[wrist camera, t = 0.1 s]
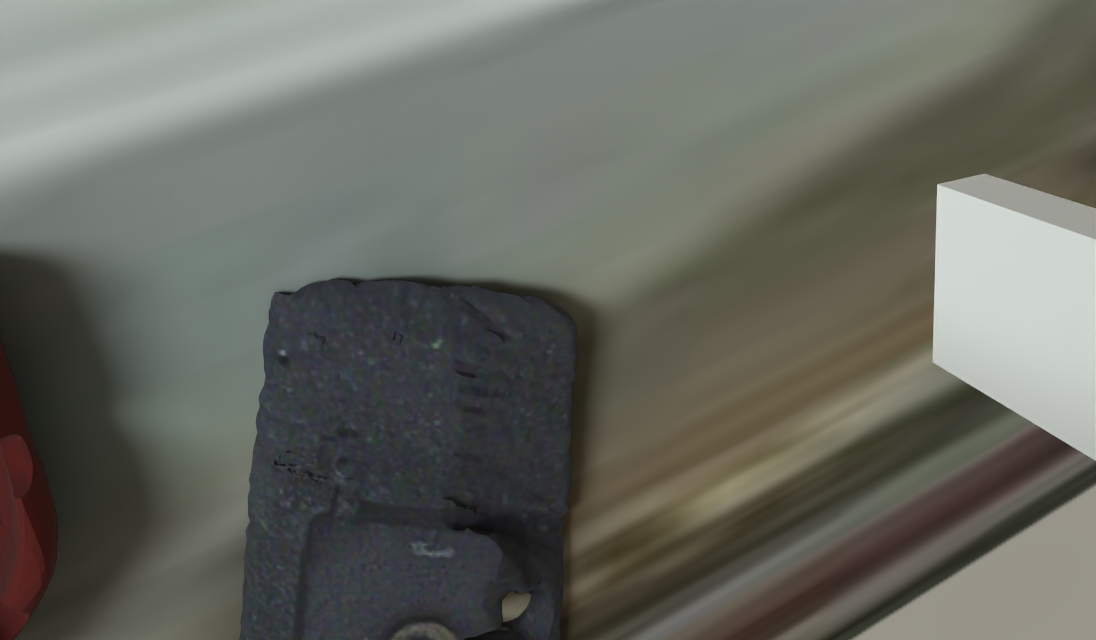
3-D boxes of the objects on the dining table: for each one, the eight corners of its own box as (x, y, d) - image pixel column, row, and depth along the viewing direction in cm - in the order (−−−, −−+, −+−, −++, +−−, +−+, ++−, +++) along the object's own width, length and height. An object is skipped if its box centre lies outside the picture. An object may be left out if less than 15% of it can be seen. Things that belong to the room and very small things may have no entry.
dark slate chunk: (613, 281, 45) (653, 317, 40) (541, 688, 52) (570, 755, 47) (257, 260, 40) (260, 298, 36) (230, 713, 47) (230, 790, 42)
